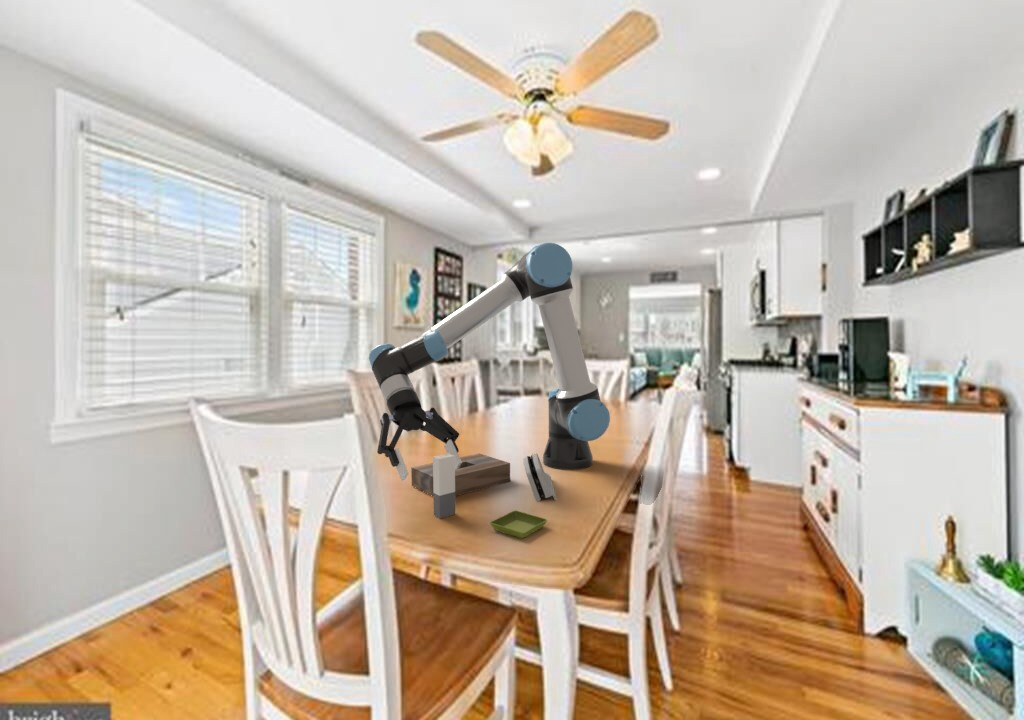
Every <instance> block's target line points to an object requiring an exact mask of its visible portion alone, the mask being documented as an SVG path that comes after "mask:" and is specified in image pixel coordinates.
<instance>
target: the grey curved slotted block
mask: <svg viewBox="0 0 1024 720" xmlns="http://www.w3.org/2000/svg"><path fill="white" fill-rule="evenodd" d="M542 464H543V463H542V462H541V459H540V456H539V454H538V453H537V452H535V453H532V454H531V455H526V456H525V457H524V458H523V466H524V471H525V474H526V477H527V480H528V483H529V485H530V488H531V491H532V493H533V496H534V500H535V501H536V502H540V501H542V499H543V498H545V499H548V498H550V497H553V499H554V501H555V500H557V501H558V498H557V496H556V492H555V488H554V483H553V481H552V477H551V475H550V473H548V472H545V470H544V467H543V465H542Z"/></svg>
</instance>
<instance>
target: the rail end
mask: <svg viewBox="0 0 1024 720" xmlns="http://www.w3.org/2000/svg"><path fill="white" fill-rule="evenodd" d="M432 463H433V494H434V497H433V516H434V515H435V516H434V517H436V516H437V517H436V518H438V517H439V518H438V519H443V518H442V517H444V518H446V516H447V517H450V516H453V514H454V515H456V496H455V456H453V455H451V454H448V453H446V454H445V453H444V454H441V455H435V456H432ZM449 515H450V516H449Z"/></svg>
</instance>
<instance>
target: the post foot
mask: <svg viewBox="0 0 1024 720" xmlns="http://www.w3.org/2000/svg"><path fill="white" fill-rule="evenodd" d="M459 457H460V459H461V461H462V464H461V465H460V466H459V468H458V469H455V497H456V495H457V496H460V495H459V494H461V495H464V493H465V494H467V492H468V493H471V491H472V492H475V491H479V489H480V490H483V489H487V488H490V486H491V487H494V486H498V485H502V484H505V483H506V484H507V483H509V482H510V483H511V462H509V461H504V460H501V459H498V458H495V457H492V456H489V455H485V454H482V453H475V454H470V455H465V456H459ZM410 469H411V470H410V471H411V487H412V486H414V487H416V488H418V489H417V490H419V489H420V490H419V491H421V490H422V491H421V492H423V491H424V492H423V493H425V492H426V493H425V494H427V493H428V494H427V495H429V494H430V495H429V496H431V495H432V496H431V497H433V496H434V494H433V462H431V463H427V464H421V465H416V466H412V467H411V468H410ZM414 487H413V488H414ZM416 488H415V489H416Z"/></svg>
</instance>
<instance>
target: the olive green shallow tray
mask: <svg viewBox="0 0 1024 720" xmlns="http://www.w3.org/2000/svg"><path fill="white" fill-rule="evenodd" d="M547 522H548V518H544V517H541V516H537V515H533V514H530V513H526V512H523V511H519V510H512V511H510V512H508V513H507V514H504V515H502V516H500V517H498V518H496V519H493V520H492V521H489V524H490V525H491V527H493V529H495V531H497V532H500V533H503V534H506V535H509V536H512V537H515V536H516V538H518V539H525V538H526V537H529V536H530V535H531V533H532V534H533V533H536V532H537V531H538V529H539V530H541V529H542V528H543V527H544V526H545V524H546V523H547ZM524 537H525V538H524Z"/></svg>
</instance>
